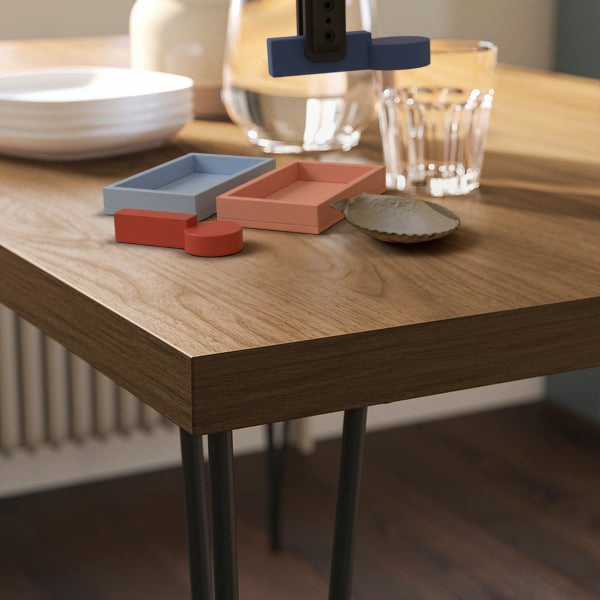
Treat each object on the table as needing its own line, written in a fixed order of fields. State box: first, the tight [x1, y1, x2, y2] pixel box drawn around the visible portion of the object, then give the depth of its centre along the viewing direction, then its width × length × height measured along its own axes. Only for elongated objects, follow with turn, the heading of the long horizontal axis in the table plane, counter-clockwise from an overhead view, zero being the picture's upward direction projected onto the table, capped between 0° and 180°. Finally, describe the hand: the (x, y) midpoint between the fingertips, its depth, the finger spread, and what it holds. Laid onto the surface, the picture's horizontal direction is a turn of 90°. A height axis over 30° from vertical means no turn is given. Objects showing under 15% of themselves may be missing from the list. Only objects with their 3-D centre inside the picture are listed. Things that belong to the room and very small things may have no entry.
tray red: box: [216, 159, 387, 235], centre depth 86 cm, size 13×8×2 cm, turn 156°
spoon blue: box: [266, 29, 432, 79], centre depth 65 cm, size 9×4×2 cm, turn 101°
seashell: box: [330, 192, 461, 245], centre depth 77 cm, size 8×3×8 cm
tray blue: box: [102, 152, 277, 222], centre depth 90 cm, size 13×8×2 cm, turn 156°
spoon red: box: [113, 208, 244, 258], centre depth 77 cm, size 9×4×2 cm, turn 66°
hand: (321, 58), depth 65 cm, fingers closed on spoon blue, 1 cm apart
